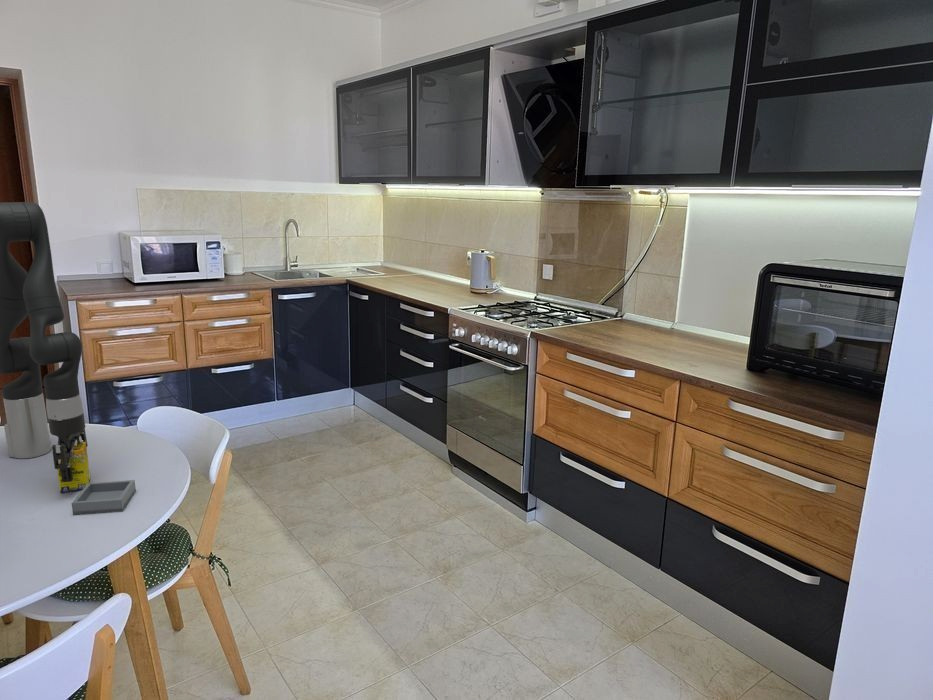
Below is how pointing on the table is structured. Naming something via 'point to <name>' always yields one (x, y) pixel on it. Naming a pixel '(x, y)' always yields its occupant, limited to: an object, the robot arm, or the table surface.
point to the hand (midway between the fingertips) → (74, 474)
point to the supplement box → (77, 471)
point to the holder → (104, 497)
